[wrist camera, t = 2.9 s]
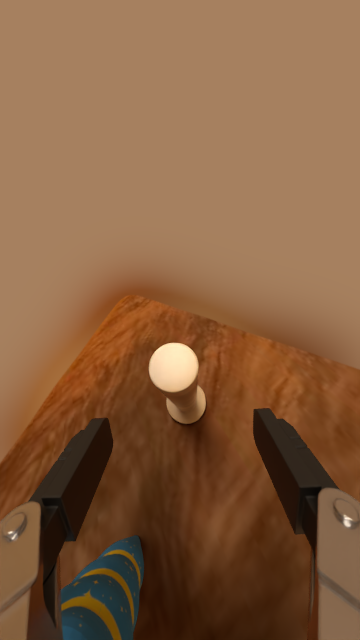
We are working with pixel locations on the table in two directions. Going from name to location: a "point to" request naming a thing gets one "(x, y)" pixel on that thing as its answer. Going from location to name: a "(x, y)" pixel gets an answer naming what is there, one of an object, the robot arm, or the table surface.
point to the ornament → (105, 595)
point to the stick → (178, 381)
